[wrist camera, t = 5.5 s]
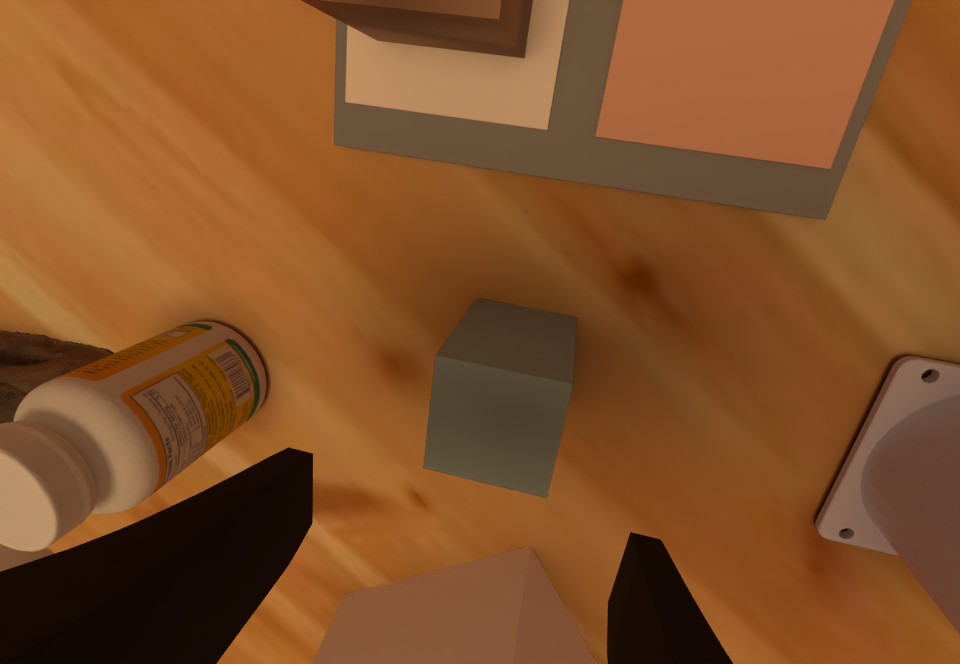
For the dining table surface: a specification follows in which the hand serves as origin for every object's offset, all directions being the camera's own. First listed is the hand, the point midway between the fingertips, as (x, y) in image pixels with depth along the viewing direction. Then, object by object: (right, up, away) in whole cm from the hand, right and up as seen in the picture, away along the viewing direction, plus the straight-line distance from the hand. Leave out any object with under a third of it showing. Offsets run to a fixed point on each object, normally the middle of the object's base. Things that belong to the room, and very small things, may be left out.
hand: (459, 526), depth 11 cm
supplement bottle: (-12, +3, +13) cm, 18 cm away
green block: (+2, +3, +9) cm, 10 cm away
